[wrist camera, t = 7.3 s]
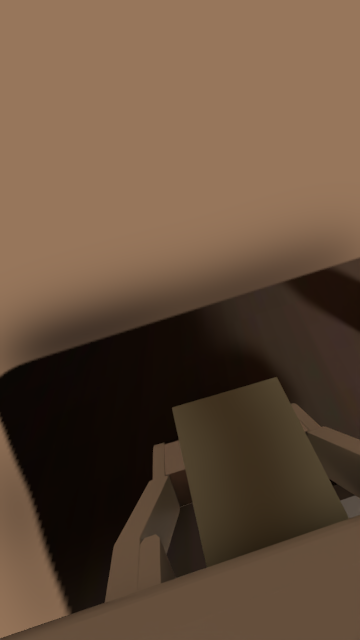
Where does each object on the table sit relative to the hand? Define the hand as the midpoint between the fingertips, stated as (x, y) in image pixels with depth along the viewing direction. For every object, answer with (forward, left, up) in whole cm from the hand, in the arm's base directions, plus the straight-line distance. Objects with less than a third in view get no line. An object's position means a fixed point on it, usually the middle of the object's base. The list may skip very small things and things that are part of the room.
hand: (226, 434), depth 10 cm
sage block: (0, +1, -4) cm, 4 cm away
